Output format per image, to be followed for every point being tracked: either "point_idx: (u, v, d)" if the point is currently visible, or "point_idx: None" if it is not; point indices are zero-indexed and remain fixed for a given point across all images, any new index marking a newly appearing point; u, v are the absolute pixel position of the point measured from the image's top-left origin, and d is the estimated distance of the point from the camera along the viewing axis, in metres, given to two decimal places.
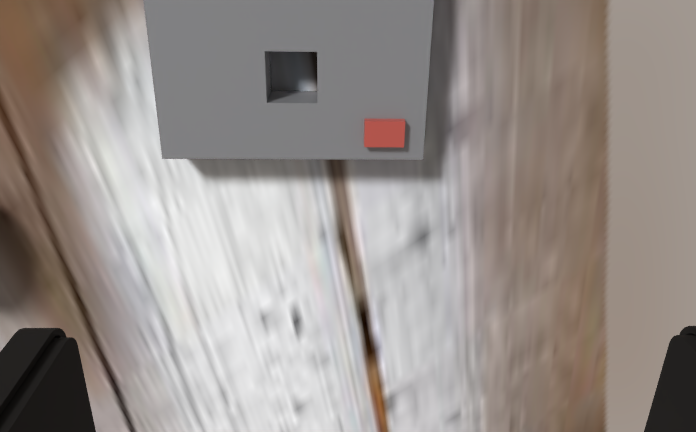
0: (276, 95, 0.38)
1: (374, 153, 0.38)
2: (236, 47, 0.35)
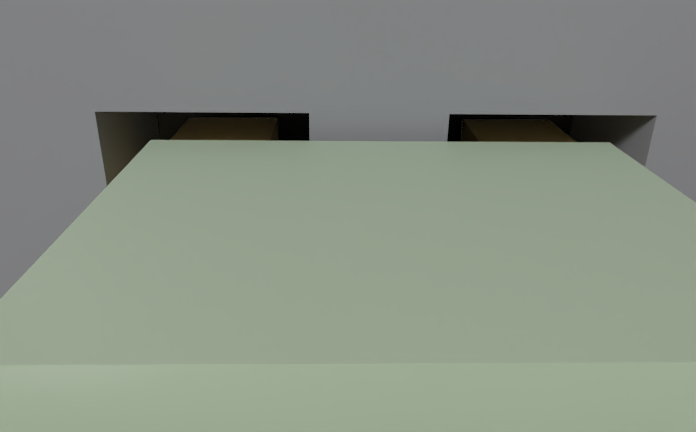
0: None
1: None
2: None
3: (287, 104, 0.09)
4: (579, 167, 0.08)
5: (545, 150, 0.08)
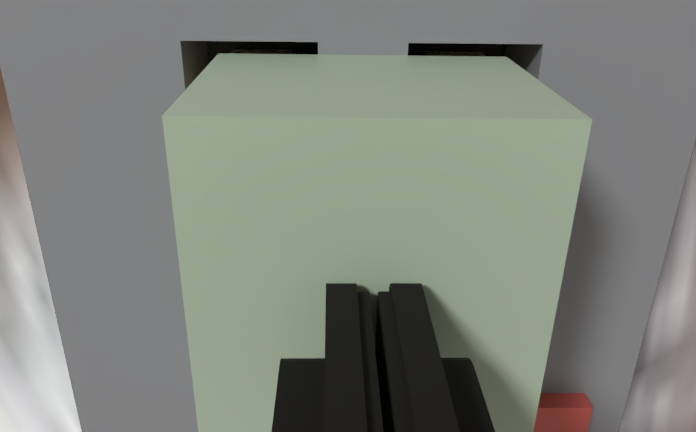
0: None
1: None
2: None
3: (304, 36, 0.13)
4: (479, 66, 0.13)
5: (463, 59, 0.13)
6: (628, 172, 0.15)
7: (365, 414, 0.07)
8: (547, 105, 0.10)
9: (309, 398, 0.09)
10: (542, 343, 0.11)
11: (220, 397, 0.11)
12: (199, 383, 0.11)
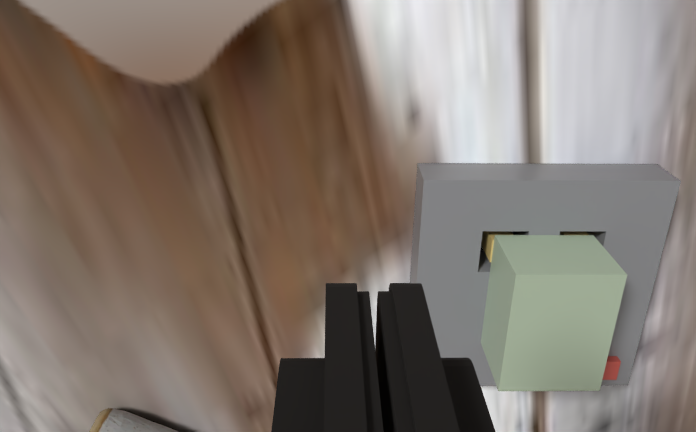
0: None
1: None
2: None
3: (524, 229, 0.39)
4: (586, 243, 0.39)
5: (579, 238, 0.39)
6: (635, 272, 0.41)
7: (365, 414, 0.07)
8: (614, 267, 0.36)
9: (309, 398, 0.09)
10: (610, 334, 0.37)
11: (512, 350, 0.37)
12: (507, 346, 0.37)
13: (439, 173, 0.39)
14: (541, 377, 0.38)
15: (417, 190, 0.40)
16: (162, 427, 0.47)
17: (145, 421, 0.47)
